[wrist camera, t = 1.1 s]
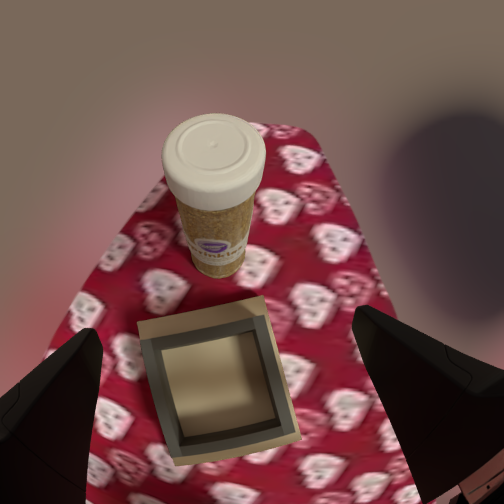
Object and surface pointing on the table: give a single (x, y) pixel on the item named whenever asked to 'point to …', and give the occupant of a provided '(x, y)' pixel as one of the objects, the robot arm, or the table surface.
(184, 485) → the table surface
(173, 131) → the sprinkles bottle
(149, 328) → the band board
